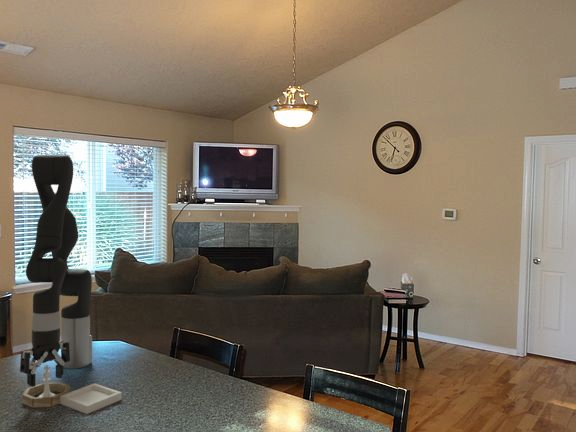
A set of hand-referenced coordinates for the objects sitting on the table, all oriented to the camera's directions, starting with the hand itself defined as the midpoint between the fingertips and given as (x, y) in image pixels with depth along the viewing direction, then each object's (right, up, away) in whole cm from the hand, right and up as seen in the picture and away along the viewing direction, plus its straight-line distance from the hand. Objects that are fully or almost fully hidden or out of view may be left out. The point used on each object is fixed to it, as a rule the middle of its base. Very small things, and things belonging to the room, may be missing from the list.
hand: (45, 381), depth 155 cm
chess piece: (0, -5, +1) cm, 5 cm away
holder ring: (0, -5, +1) cm, 5 cm away
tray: (+13, -6, 0) cm, 14 cm away
